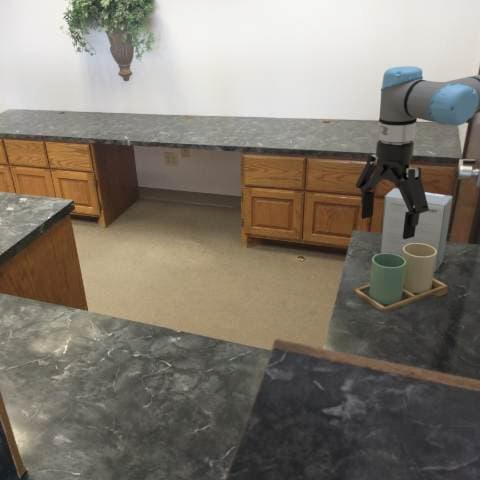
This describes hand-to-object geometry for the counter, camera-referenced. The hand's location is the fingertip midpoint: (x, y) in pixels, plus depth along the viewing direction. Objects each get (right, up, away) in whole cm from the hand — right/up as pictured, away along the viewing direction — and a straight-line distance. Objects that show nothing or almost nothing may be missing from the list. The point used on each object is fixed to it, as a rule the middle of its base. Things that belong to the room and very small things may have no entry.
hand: (386, 227), depth 122 cm
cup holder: (+7, -18, +9) cm, 21 cm away
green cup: (+3, -19, +8) cm, 21 cm away
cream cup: (+12, -16, +11) cm, 23 cm away
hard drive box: (+18, -9, +24) cm, 31 cm away
